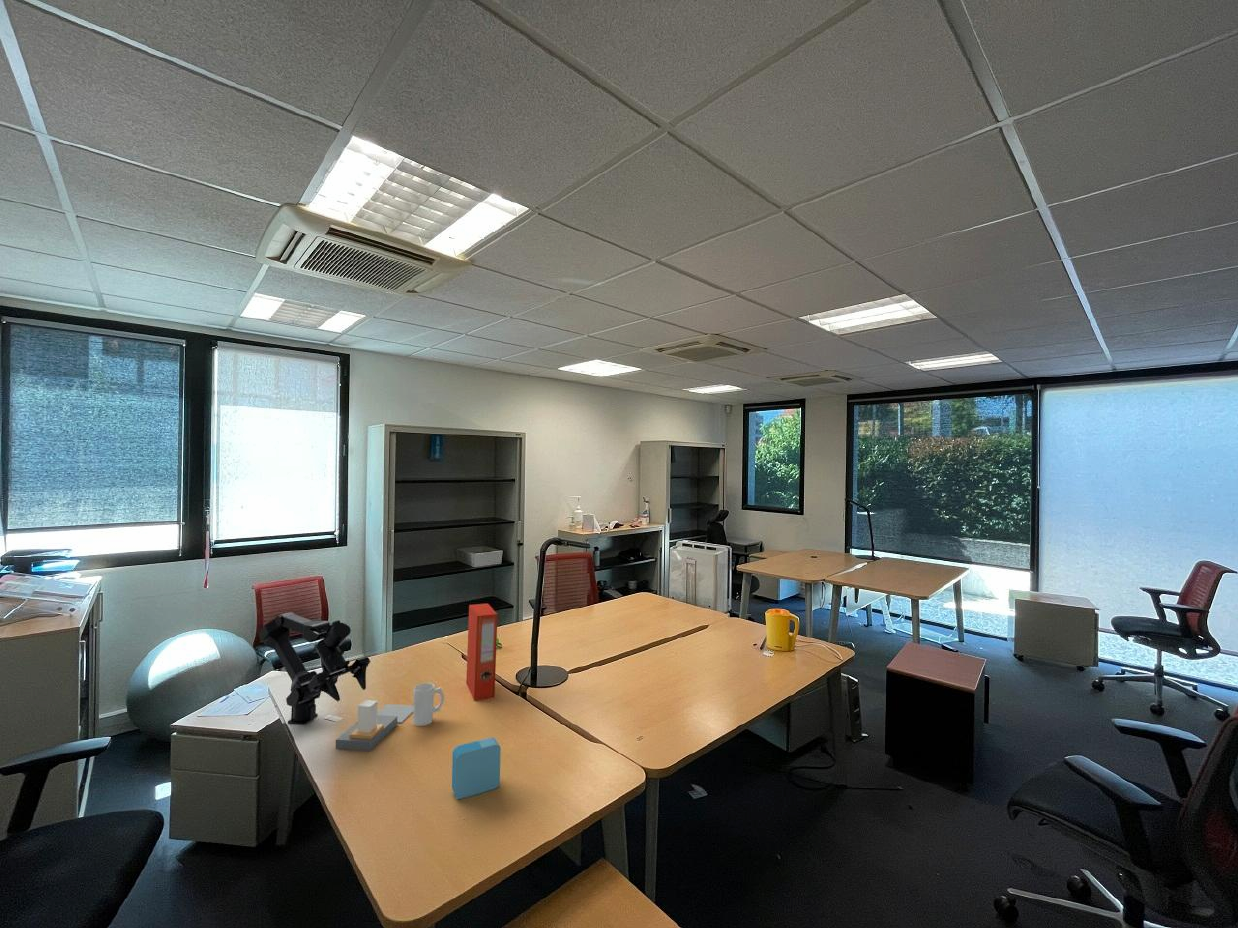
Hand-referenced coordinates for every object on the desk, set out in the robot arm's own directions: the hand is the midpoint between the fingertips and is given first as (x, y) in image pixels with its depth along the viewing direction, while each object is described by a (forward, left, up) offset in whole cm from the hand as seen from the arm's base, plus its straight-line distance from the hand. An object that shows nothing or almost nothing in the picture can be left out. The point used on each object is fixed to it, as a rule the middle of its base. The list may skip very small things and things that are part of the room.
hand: (352, 694), depth 158 cm
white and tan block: (+7, -3, -13) cm, 15 cm away
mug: (+20, +12, -14) cm, 27 cm away
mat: (+6, +15, -13) cm, 21 cm away
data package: (+50, -22, -14) cm, 56 cm away
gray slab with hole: (+5, 0, -13) cm, 15 cm away
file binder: (+29, +38, -14) cm, 50 cm away
